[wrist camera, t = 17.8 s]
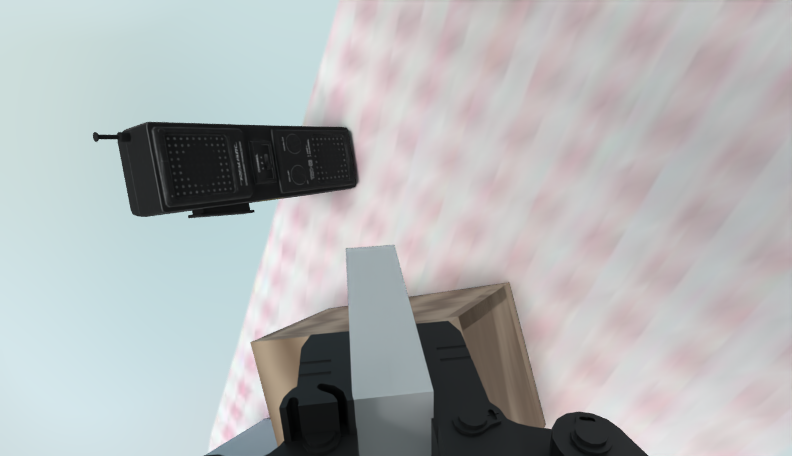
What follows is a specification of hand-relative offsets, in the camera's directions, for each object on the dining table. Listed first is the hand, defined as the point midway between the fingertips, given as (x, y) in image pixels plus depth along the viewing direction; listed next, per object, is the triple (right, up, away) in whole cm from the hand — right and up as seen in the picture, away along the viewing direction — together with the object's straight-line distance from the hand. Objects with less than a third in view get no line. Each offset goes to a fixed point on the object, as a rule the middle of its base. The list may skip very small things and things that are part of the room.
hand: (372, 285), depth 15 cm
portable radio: (-6, +9, +40) cm, 42 cm away
